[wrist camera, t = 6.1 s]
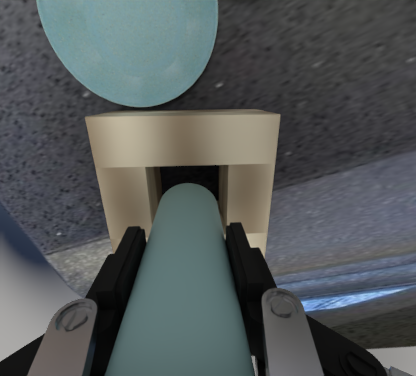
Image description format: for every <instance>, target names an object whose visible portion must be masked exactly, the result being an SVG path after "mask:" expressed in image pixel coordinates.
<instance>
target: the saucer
mask: <svg viewBox="0 0 416 376" xmlns="http://www.w3.org/2000/svg"><path fill="white" fill-rule="evenodd" d="M36 1H37V8H38V11H39V15H40V20H41V22H42V25H43V28H44V31H45V33H46V35H47V38H48V40H49V42H50V44H51V46H52V47H53V49H54V51H55V52H56V54H57V56H58V58H59V59H60V60H61V62H62V63H63V65H64V66H65V67H66V68H67V69H68V70H69V72H70V73H71V74H72V75H73V76H74V77H75V78H76V79H77V80H78V81H79V82H80V83H82V84H83V85H84V86H85V87H87V88H88V89H89V90H91V91H92V92H93V93H95V94H97V95H98V96H100V97H102V98H105V99H107V100H109V101H111V102H114V103H117V104H121V105H125V106H130V107H152V106H155V105H160V104H163V103H166V102H168V101H171V100H172V99H174V98H176V97H178V96H179V95H181V94H183V93H184V92H185V91H186V90H187V89H189V88H190V87H191V86H192V85H193V84H194V83H195V82H196V81H197V79H198V78H199V77H200V75H201V74H202V72H203V71H204V69H205V68H206V65H207V63H208V61H209V59H210V56H211V53H212V51H213V47H214V43H215V39H216V33H217V27H218V0H36Z"/></svg>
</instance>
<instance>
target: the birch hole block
mask: <svg viewBox="0 0 416 376" xmlns="http://www.w3.org/2000/svg"><path fill="white" fill-rule="evenodd" d="M280 115H281V114H276V113H272V112H267V111H263V110H258V109H219V110H132V111H112V112H107V113H102V114H97V115H92V116H87V117H85V120H86V125H87V130H88V134H89V139H90V144H91V149H92V154H93V158H94V163H95V168H96V173H97V178H98V182H99V187H100V192H101V197H102V201H103V206H104V211H105V216H106V221H107V225H108V230H109V235H110V240H111V245H112V249H113V254H114V253H115V251H116V249H117V247H118V245H119V243H120V241H121V239H122V237H123V235H124V233H125V231H126V229H127V227H129V226H140V227H141V229H145V235H146V242H147V240H148V237H149V234H150V231H151V228H152V225H153V221H154V218H155V215H156V212H157V209H158V206H159V203H160V200H161V198H162V196H163V195H162V184H161V173H160V166H194V165H219V201H217V205H218V209H219V214H220V218H221V223H222V227H223V232H224V236H225V237H226V226H227V225H230V222H241V223H242V226H243V228H244V231H245V234H246V236H247V239H248V242H249V244H250V247H251V248H256V247H259V248H260V250H261V252H262V254H263V256H264V259H265V250H266V241H267V232H268V223H269V214H270V205H271V196H272V187H273V178H274V169H275V160H276V151H277V142H278V133H279V124H280Z"/></svg>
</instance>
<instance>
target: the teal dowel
mask: <svg viewBox="0 0 416 376" xmlns="http://www.w3.org/2000/svg"><path fill="white" fill-rule="evenodd" d="M105 376H255V372H254V368H253V363H252V358H251V354H250V349H249V345H248V340H247V336H246V331H245V327H244V322H243V318H242V313H241V309H240V304H239V300H238V295H237V291H236V286H235V282H234V277H233V272H232V268H231V263H230V259H229V254H228V250H227V245H226V241H225V236H224V232H223V227H222V223H221V218H220V214H219V209H218V205H217V201H216V199H215V197H214V196H213V194H212V193H211V192H210V191H209V190H208V189H206V188H205V187H203V186H201V185H198V184H194V183H183V184H178V185H176V186H174V187H172V188H170V189H169V190H168V191H166V192H165V194H164V195H163V196H162V198H161V200H160V203H159V206H158V209H157V212H156V215H155V218H154V221H153V225H152V228H151V231H150V234H149V237H148V240H147V244H146V247H145V250H144V253H143V256H142V259H141V263H140V266H139V269H138V272H137V275H136V278H135V281H134V285H133V288H132V291H131V294H130V297H129V300H128V304H127V307H126V310H125V313H124V316H123V319H122V323H121V326H120V329H119V332H118V335H117V338H116V341H115V345H114V348H113V351H112V354H111V357H110V360H109V364H108V367H107V370H106V373H105Z"/></svg>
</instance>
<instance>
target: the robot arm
mask: <svg viewBox="0 0 416 376" xmlns="http://www.w3.org/2000/svg"><path fill="white" fill-rule="evenodd" d="M225 241H226V245H227V250H228V254H229V259H230V263H231V268H232V272H233V277H234V282H235V286H236V291H237V295H238V300H239V304H240V309H241V313H242V318H243V322H244V327H245V331H246V336H247V340H248V345H249V349H250V353H252V354H253V355H254V356H255V365H256V376H412V375H410V374H408V373H406V372H403V371H401V370H399V369H396V368H394V367H392V366H391V367H390V369H387V368H385V367H383V366H382V364H381V363H380V362H379V361H378V360H377V359H376V358H375V357H374V356H373V355H372V354H371V353H370V352H368V351H367V350H365V349H364V348H362V347H360V346H359V345H357V344H355V343H354V342H352V341H350V340H348V339H347V338H345V337H343V336H342V335H340V334H338V333H337V332H335V331H333V330H331V329H330V328H328V327H326V326H325V325H323V324H321V323H319V322H318V321H316V320H314V319H313V318H311V317H309V316H308V315H306V314H305V311H304V308H303V305H302V303H301V301H300V300H299V299H298V297H297V296H296V295H294V294H293V293H292V292H290V291H288V290H285V289H281V288H277V286H276V284H275V282H274V279H273V277H272V275H271V272H270V270H269V268H268V266H267V263H266V261H265V259H264V256H263V254H262V252H261V250H260V248H259V247H256V248H251V247H250V244H249V242H248V239H247V236H246V234H245V231H244V228H243V226H242V223H241V222H230V225H227V226H226V237H225ZM146 244H147V242H146V235H145V229H141V227H140V226H129V227H127V229H126V231H125V233H124V235H123V237H122V239H121V241H120V243H119V245H118V247H117V249H116V251H115V253H114V254H109V255H108V256H107V258H106V260H105V262H104V264H103V265H102V267H101V269H100V271H99V273H98V275H97V277H96V279H95V280H94V282H93V284H92V286H91V288H90V290H89V292H88V293H87V295H86V297H85V299H78V300H75V301H72V302H70V303H68V304H66V305H65V306H63V307H62V308H61V309H59V310H58V311H57V312H56V313H55V314H54V316H53V318H52V319H51V321H50V323H49V326H48V328H47V330H46V333H45V334H43V335H42V336H40V337H39V338H37V339H35V340H34V341H32V342H31V343H29V344H27V345H26V346H24V347H23V348H21V349H20V350H18V351H16V352H15V353H13V354H12V355H10V356H9V357H7V358H5V359H4V360H2V361H1V362H0V376H105V373H106V370H107V367H108V364H109V360H110V357H111V354H112V351H113V348H114V345H115V341H116V338H117V335H118V332H119V329H120V326H121V323H122V319H123V316H124V313H125V310H126V307H127V304H128V300H129V297H130V294H131V291H132V288H133V285H134V281H135V278H136V275H137V272H138V269H139V266H140V263H141V259H142V256H143V253H144V250H145V247H146Z"/></svg>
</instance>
